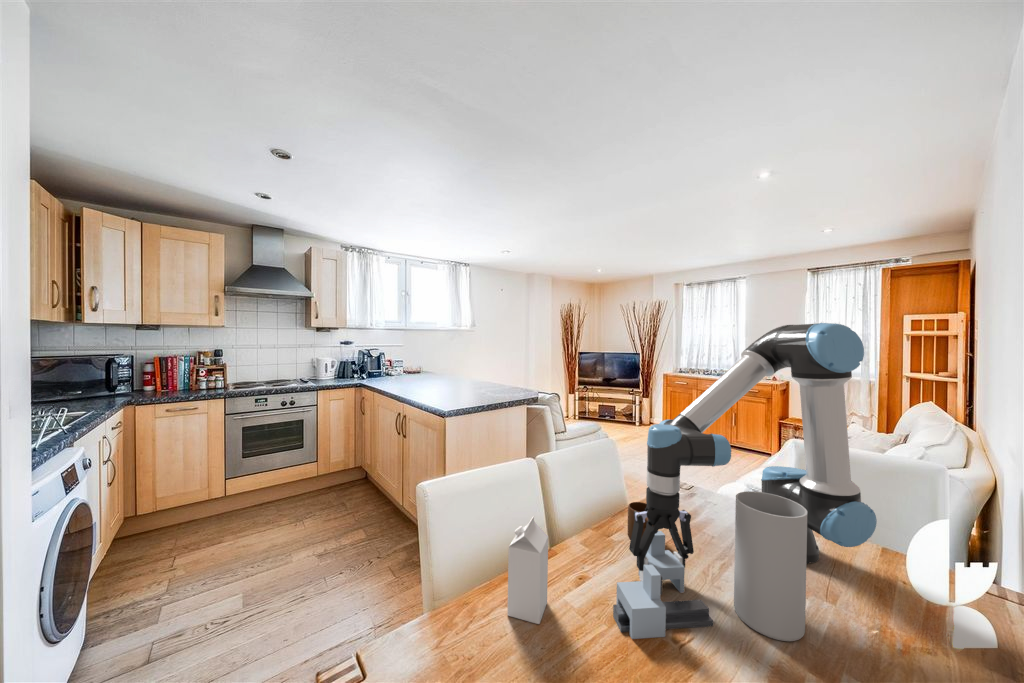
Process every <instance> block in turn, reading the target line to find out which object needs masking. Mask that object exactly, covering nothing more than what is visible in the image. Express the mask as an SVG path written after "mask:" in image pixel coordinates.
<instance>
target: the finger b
mask: <svg viewBox="0 0 1024 683" xmlns="http://www.w3.org/2000/svg"><path fill="white" fill-rule="evenodd" d="M646 557H647V558H648V565H653V566H654V567H655V568H656V570H657V571H658V572H659V573H660V575H661V576H662V577H663V578H662V581H667V580H669V581H670V582H671V583H672V584H673V586H674V587H675V588H676V589H677V591H678V592H679V593H681V594H682V593H685V571H686V569H685V568H686V566H685V567H684V566H683V565H682V564H681V563H680V562H679V560H678V559H677V558H676V557H675V556H674V553H673V552H671V551H670V549H666V534H665V533H664V532H663V531H662V530H658V532H657V533H656V534H655V536H654V538H653V540H652V542H651V545H650V547H649V549H648V552H647V554H646ZM638 576H639V577H640V570H639V569H638Z"/></svg>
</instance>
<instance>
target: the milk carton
mask: <svg viewBox="0 0 1024 683" xmlns="http://www.w3.org/2000/svg"><path fill="white" fill-rule="evenodd" d="M514 534H515V536H514V537H513V539H512V540H511V543H510V544H509V545H508V555H507V556H508V558H507V559H508V563H507V565H508V566H507V568H508V569H507V572H508V573H507V575H508V576H507V616H508V617H511V618H515V619H519V620H521V621H525V622H529V623H533V624H536V625H540V624H541V622H542V618H543V615H544V612H545V610H546V607H547V604H548V580H549V579H548V576H549V575H548V574H549V573H548V572H549V571H548V570H549V568H548V565H549V535H548V534H547V533H546V532H545V531H544V530H543V529H542V528H541V526H540V525H539V524H538V523H537V522H536V521H535V516H534V515H533V516H532V517H531V519H530V520H529V522H528V523H527V524H526V525H525V526H523V525H519V526H518V527H517V528H516V529H515V530H514Z"/></svg>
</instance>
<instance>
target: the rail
mask: <svg viewBox="0 0 1024 683" xmlns="http://www.w3.org/2000/svg"><path fill="white" fill-rule="evenodd" d="M662 602H663V604H664V605H665V607H666V625H665V630H673V629H674V630H675V629H677V630H678V629H689V628H690V629H691V628H704V627H707V628H708V627H714V620H713V618H712V617H711V616H710V608H709V607H708V605H706V604H705V602H704V600H702V599H691V600H690V599H688V600H687V599H686V600H672V601H662ZM612 611H613V613H612V616H613V619H614V622H615V623H616V625H617V627H618V629H619V631H620V633H630V618H629V617H628V615H627V613H626V611H625V609H624V608H623V606H622V604H613V607H612Z"/></svg>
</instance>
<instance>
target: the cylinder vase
mask: <svg viewBox="0 0 1024 683" xmlns="http://www.w3.org/2000/svg"><path fill="white" fill-rule="evenodd" d="M734 515H735V517H734V518H735V521H734V524H735V526H734V567H733V568H734V569H733V570H734V571H733V572H734V574H733V575H734V576H733V578H734V579H733V608H734V610H735V612H736V615H737V616H738V617H739V619H740V620H741V621H742V622H743V623H744V624H746V625H747V626H748V627H749V628H751V630H753V631H756V632H757V633H759V634H761V635H763V636H765V637H768V638H769V639H774V640H777V641H778V640H779V641H783V642H793V641H795V642H796V641H798V640H800V639H802V638H803V637H804V635H805V633H806V606H807V605H806V603H807V600H806V598H807V596H806V595H807V563H806V559H807V510H806V509H805V508H804V507H803V506H802V505H800V504H798V503H796V502H794V501H792V500H790V499H787V498H784V497H781V496H777V495H773V494H769V493H763V492H762V491H749V490H748V491H741V492H738V493H736V495H735V514H734Z"/></svg>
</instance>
